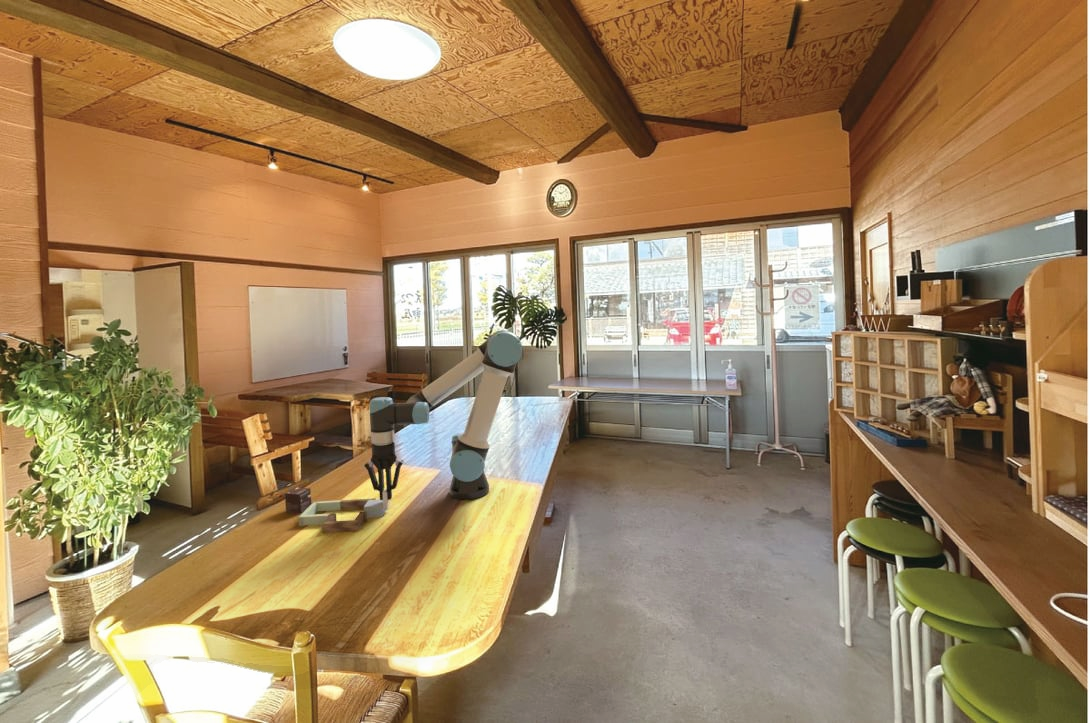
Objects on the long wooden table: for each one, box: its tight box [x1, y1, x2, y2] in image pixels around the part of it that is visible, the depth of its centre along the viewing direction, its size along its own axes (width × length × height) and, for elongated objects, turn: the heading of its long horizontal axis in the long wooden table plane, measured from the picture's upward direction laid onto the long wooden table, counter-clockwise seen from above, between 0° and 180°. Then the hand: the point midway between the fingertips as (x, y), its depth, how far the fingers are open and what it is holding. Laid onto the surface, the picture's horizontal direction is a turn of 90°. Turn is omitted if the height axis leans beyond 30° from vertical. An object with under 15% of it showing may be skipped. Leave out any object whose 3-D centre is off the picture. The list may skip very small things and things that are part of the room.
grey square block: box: [363, 498, 387, 519], centre depth 162 cm, size 6×6×4 cm
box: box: [284, 487, 313, 515], centre depth 167 cm, size 6×6×7 cm
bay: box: [298, 499, 342, 527], centre depth 161 cm, size 10×13×3 cm
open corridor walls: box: [321, 497, 377, 534], centre depth 159 cm, size 12×20×3 cm, turn 5°
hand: (386, 508), depth 163 cm, fingers closed
